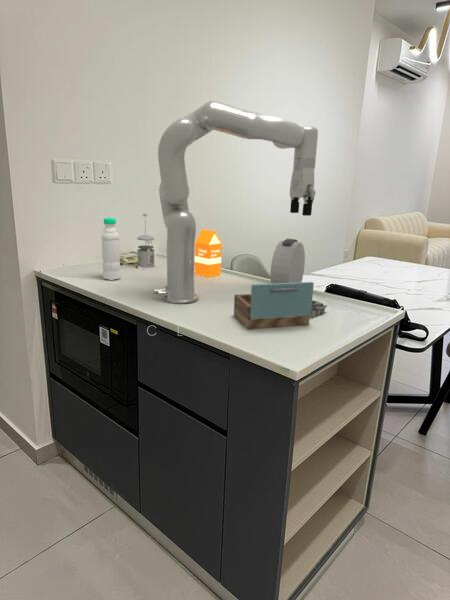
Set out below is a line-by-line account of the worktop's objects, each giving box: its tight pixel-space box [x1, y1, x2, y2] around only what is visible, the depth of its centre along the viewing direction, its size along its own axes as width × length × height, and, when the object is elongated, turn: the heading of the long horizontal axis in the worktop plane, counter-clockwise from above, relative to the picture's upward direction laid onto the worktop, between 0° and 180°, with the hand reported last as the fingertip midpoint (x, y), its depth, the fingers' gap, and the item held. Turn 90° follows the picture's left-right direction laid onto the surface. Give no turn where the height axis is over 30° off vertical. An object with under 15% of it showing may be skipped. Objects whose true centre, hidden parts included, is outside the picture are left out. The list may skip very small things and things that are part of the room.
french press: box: [136, 212, 156, 268], centre depth 206 cm, size 10×12×25 cm
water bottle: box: [100, 217, 122, 279], centre depth 181 cm, size 7×7×25 cm
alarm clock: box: [270, 238, 306, 284], centre depth 176 cm, size 21×8×20 cm, turn 155°
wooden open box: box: [233, 293, 311, 330], centre depth 138 cm, size 20×13×7 cm, turn 107°
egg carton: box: [310, 299, 328, 319], centre depth 147 cm, size 11×8×4 cm
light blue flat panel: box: [250, 281, 315, 319], centre depth 129 cm, size 19×2×10 cm, turn 107°
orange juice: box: [194, 228, 223, 279], centre depth 193 cm, size 8×9×20 cm
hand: (300, 214), depth 160 cm, fingers open, 9 cm apart
